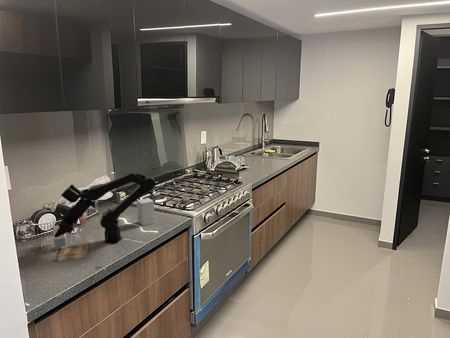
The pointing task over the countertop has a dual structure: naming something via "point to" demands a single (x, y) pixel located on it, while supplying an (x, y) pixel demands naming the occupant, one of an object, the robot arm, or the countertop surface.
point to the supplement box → (145, 211)
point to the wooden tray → (73, 252)
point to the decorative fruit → (83, 218)
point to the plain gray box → (59, 239)
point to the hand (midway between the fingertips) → (56, 234)
